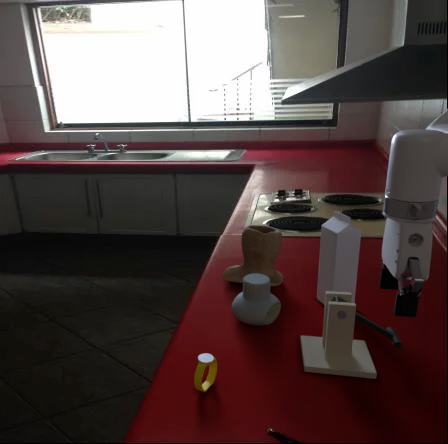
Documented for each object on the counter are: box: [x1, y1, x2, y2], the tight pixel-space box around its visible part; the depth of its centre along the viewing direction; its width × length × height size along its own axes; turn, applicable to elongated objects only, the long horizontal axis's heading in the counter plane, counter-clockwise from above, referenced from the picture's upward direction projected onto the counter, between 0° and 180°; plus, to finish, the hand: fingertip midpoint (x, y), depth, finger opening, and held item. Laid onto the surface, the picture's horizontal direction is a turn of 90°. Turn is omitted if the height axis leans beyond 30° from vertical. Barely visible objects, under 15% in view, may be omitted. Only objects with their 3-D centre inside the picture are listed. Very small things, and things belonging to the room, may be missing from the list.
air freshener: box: [231, 274, 282, 327], centre depth 92 cm, size 11×8×10 cm
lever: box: [331, 296, 404, 350], centre depth 76 cm, size 13×5×2 cm
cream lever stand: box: [299, 291, 378, 380], centre depth 77 cm, size 12×10×13 cm
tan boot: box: [221, 224, 284, 287], centre depth 110 cm, size 15×12×15 cm
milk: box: [316, 210, 362, 306], centre depth 95 cm, size 6×6×22 cm
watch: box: [193, 352, 218, 393], centre depth 73 cm, size 6×3×6 cm, turn 146°
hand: (396, 301), depth 73 cm, fingers open, 9 cm apart
